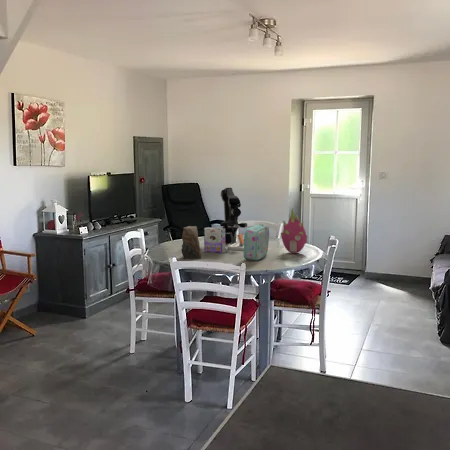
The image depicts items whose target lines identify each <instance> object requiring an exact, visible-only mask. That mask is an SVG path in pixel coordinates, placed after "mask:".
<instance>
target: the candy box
mask: <svg viewBox="0 0 450 450" xmlns="http://www.w3.org/2000/svg"><path fill="white" fill-rule="evenodd" d="M203 234H204V235H203V238H204V239H203V240H204V241H203V243H204V248H203V249H204V251H203V252H207V253H219V254H222V253H225V252H226V251H225V249H226V243H225V228H222V227H209V226H208V227H204V228H203Z"/></svg>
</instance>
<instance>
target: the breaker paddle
mask: <svg viewBox="0 0 450 450" xmlns="http://www.w3.org/2000/svg"><path fill="white" fill-rule="evenodd" d="M236 237H238V240H239V243H240V244H243V245H244V235H243V234H242V233H239V234H236Z"/></svg>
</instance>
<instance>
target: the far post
mask: <svg viewBox="0 0 450 450" xmlns="http://www.w3.org/2000/svg"><path fill="white" fill-rule="evenodd" d="M234 243H237V233H236V234H235V237H233V235H232V242H231V243H230V245H232V244H234Z"/></svg>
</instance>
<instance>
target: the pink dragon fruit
mask: <svg viewBox="0 0 450 450" xmlns="http://www.w3.org/2000/svg"><path fill="white" fill-rule="evenodd" d="M299 219H300V218H299V216H298V215H297V214H296V215H295V213H294V208H292V209H291V212H290V217H289V219H288V222H287V223H286V221H285V220H282V222H283V231H282V232H280V237H281V240H282V243H283V246H284V248H285V250H286V251H288V253H291V254H298V253H300V252H301V251H302V250H303V248H304V246H305V245H306V243H307V240H308V235H307V233H306V232H307V231H306V229H305V227H304V220H303V219H301V223H300V220H299Z"/></svg>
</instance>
